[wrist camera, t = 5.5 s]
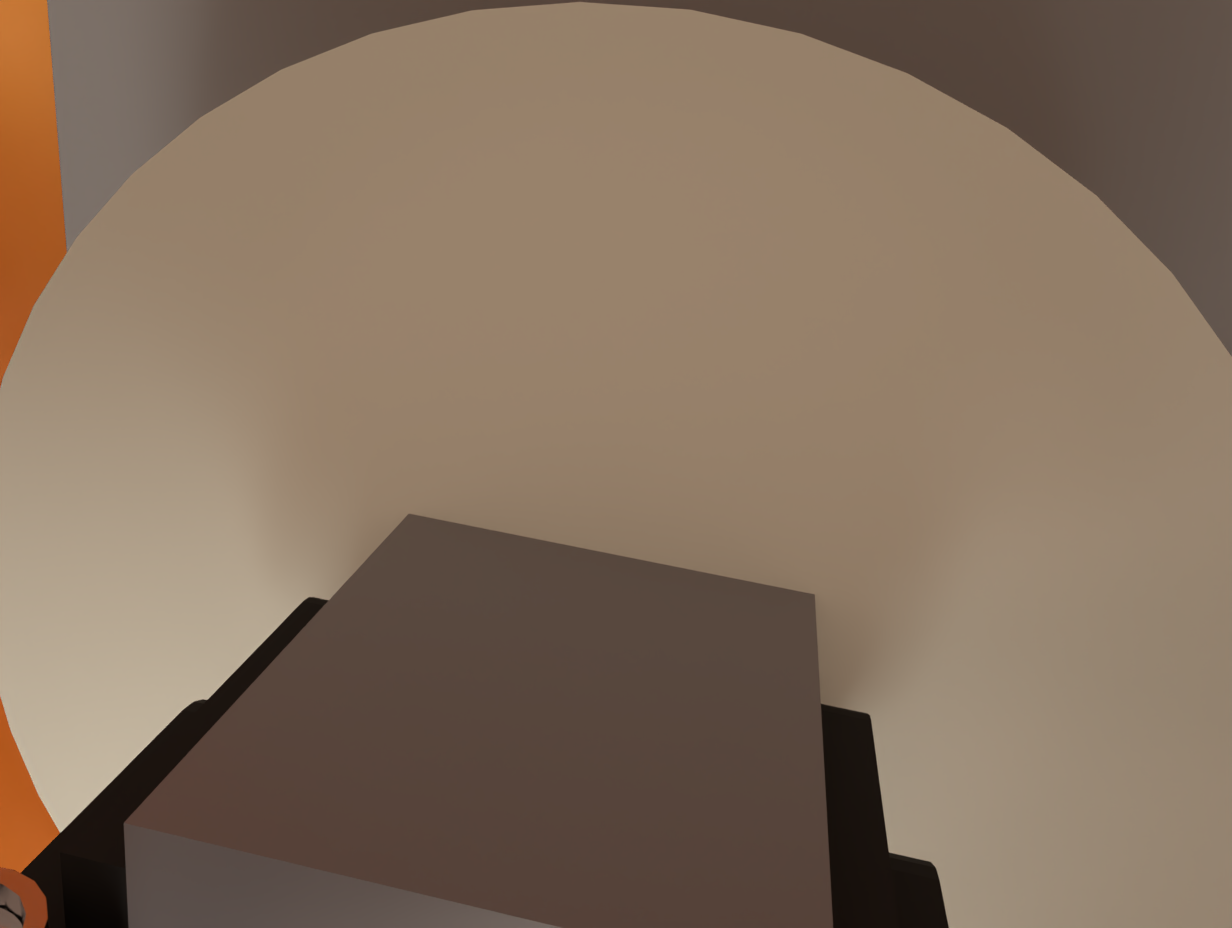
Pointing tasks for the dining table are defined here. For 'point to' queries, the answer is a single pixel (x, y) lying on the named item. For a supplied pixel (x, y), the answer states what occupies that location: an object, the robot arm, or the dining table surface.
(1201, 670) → the lid
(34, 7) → the dining table surface
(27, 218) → the dining table surface
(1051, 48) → the mat
